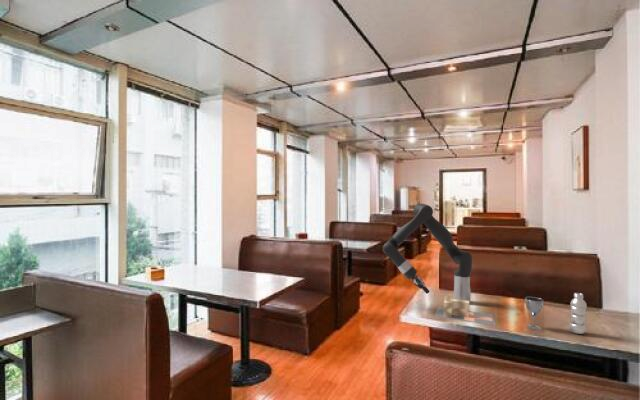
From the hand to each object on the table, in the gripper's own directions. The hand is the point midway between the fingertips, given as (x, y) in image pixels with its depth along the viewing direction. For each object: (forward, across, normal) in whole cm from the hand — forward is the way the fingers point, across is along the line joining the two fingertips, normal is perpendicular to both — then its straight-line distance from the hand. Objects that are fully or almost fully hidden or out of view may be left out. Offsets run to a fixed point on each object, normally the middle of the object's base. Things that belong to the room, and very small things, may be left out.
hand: (428, 292), depth 195 cm
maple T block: (+18, 0, -3) cm, 19 cm away
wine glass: (+46, 0, -29) cm, 54 cm away
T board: (+22, 0, -6) cm, 23 cm away
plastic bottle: (+59, 0, -43) cm, 73 cm away
